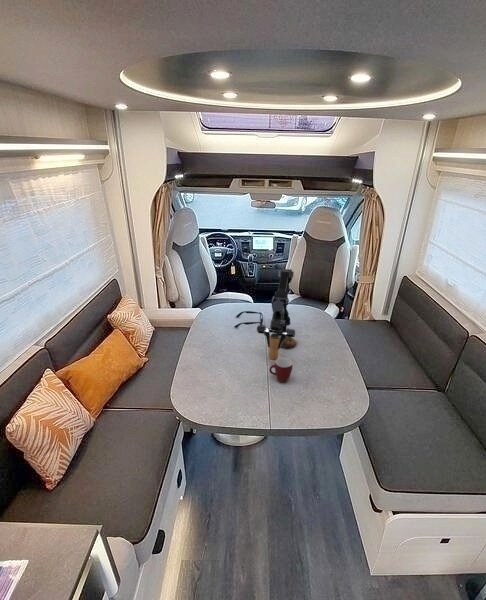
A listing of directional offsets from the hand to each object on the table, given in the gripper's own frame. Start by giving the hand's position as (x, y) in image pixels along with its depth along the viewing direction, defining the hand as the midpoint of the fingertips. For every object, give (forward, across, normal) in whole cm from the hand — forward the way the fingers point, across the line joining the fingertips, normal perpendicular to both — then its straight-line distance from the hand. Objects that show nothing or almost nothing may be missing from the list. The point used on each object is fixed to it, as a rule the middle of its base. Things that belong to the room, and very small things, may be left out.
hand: (273, 348), depth 152 cm
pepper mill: (+4, 0, +6) cm, 7 cm away
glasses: (-23, -22, +40) cm, 51 cm away
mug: (+14, +5, +2) cm, 15 cm away
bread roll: (-9, +4, +26) cm, 28 cm away
